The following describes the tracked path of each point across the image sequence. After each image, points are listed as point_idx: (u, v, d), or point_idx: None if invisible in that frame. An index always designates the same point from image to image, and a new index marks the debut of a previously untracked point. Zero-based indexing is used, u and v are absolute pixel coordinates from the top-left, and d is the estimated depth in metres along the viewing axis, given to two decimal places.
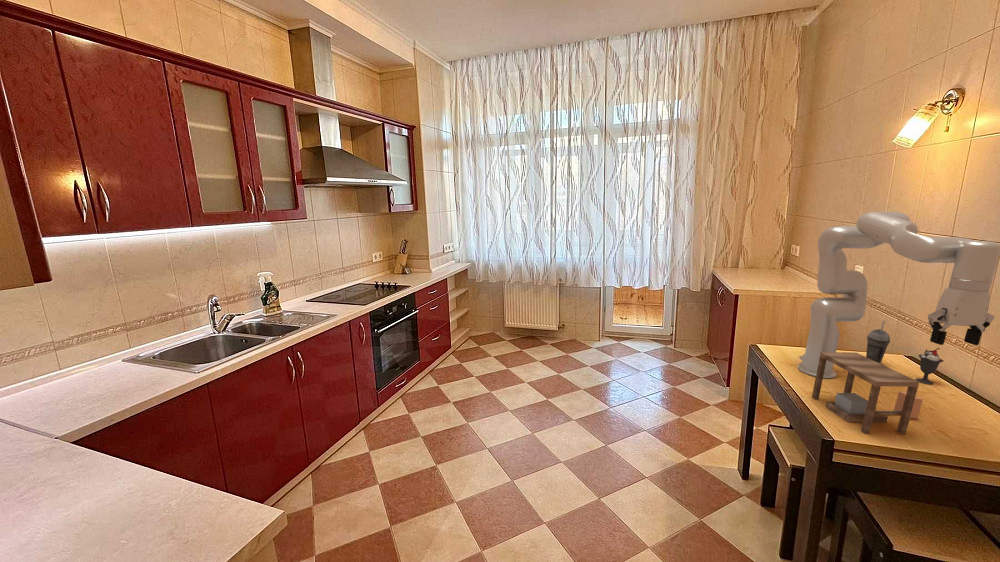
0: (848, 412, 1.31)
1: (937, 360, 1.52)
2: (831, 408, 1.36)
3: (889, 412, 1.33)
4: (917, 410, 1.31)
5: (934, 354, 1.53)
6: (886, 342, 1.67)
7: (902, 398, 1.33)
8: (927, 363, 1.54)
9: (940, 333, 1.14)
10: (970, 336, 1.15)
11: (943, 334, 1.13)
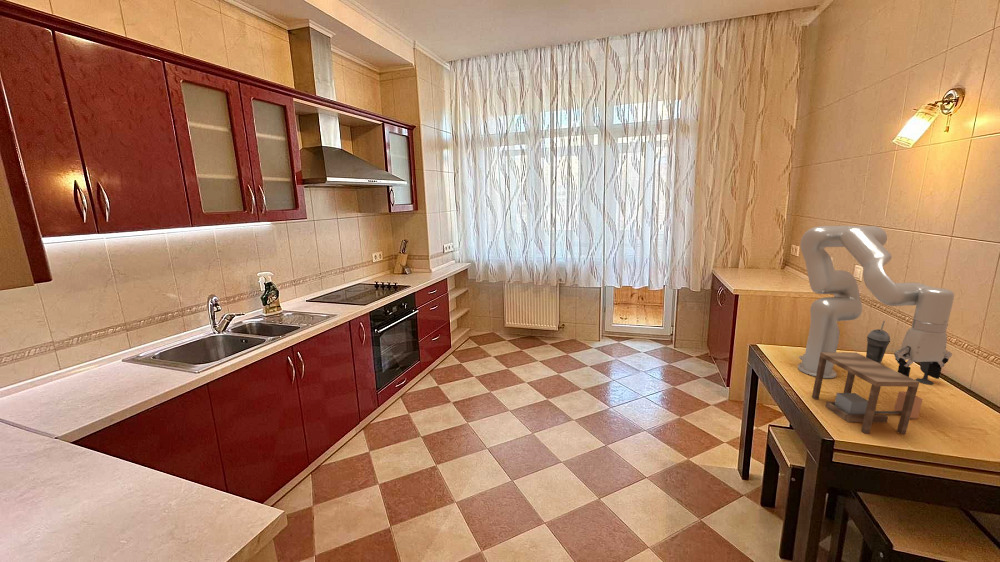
0: (848, 412, 1.31)
1: None
2: (831, 408, 1.36)
3: (889, 412, 1.33)
4: (917, 410, 1.31)
5: None
6: (886, 342, 1.67)
7: (902, 398, 1.33)
8: (927, 363, 1.54)
9: (905, 368, 1.29)
10: (932, 370, 1.30)
11: (908, 369, 1.28)
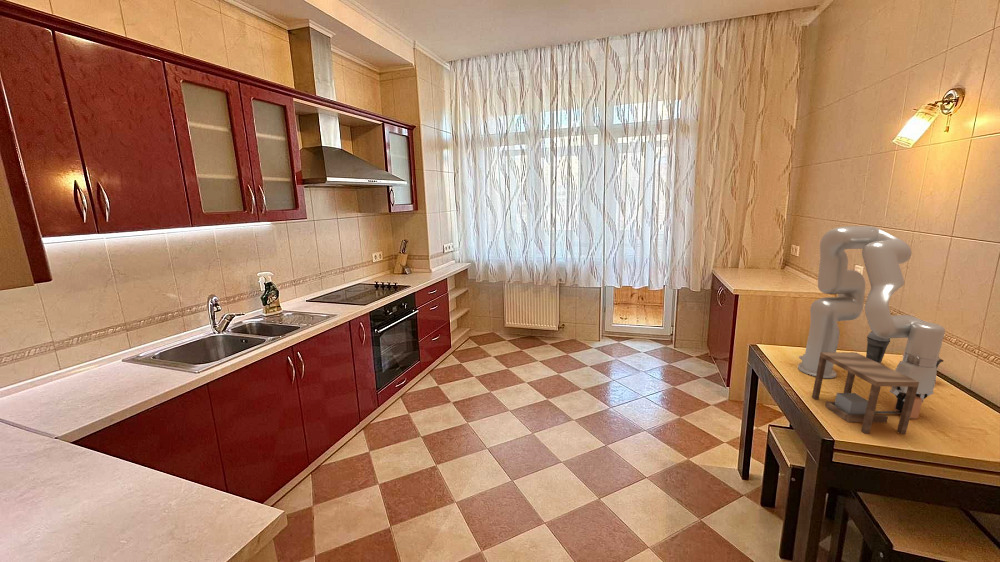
0: (848, 412, 1.31)
1: None
2: (831, 408, 1.36)
3: (889, 412, 1.33)
4: (917, 410, 1.31)
5: None
6: (886, 342, 1.67)
7: None
8: None
9: (903, 403, 1.32)
10: None
11: None
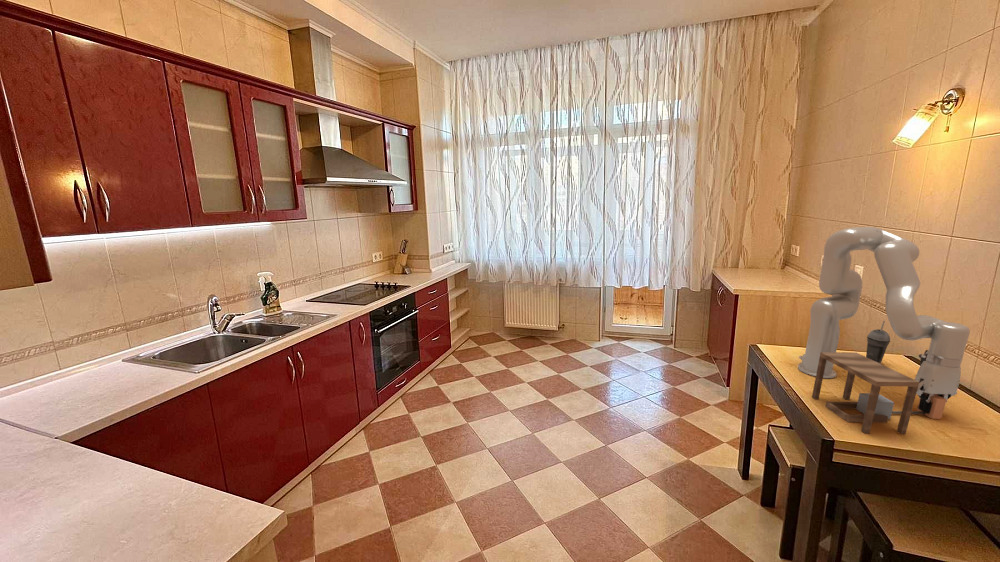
0: None
1: None
2: (831, 408, 1.36)
3: (912, 412, 1.33)
4: (941, 410, 1.31)
5: None
6: (886, 342, 1.67)
7: None
8: None
9: (927, 403, 1.32)
10: None
11: (929, 404, 1.31)
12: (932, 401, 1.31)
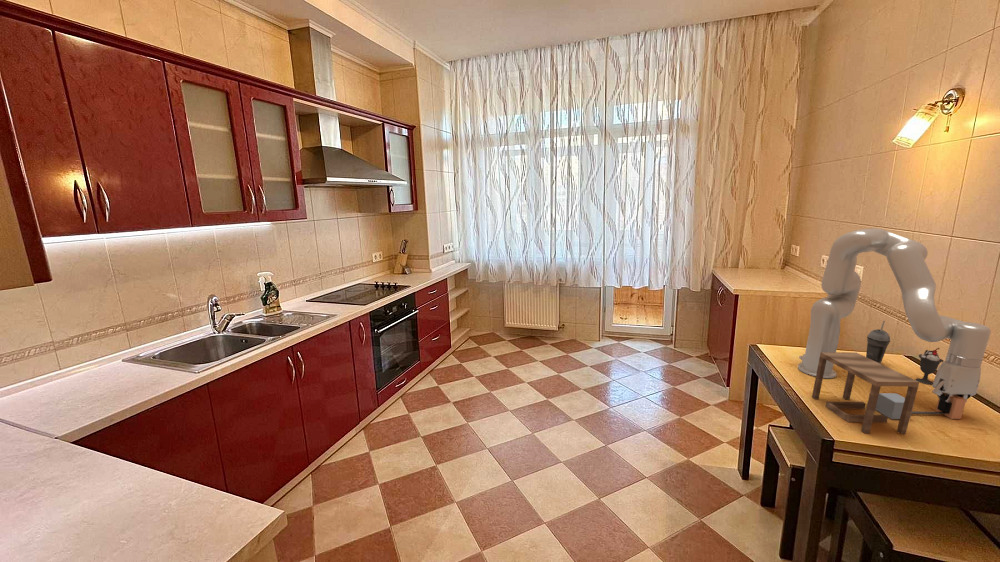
0: (891, 412, 1.31)
1: (937, 360, 1.52)
2: (831, 408, 1.36)
3: (931, 412, 1.33)
4: (960, 410, 1.31)
5: (934, 354, 1.53)
6: (886, 342, 1.67)
7: None
8: (927, 363, 1.54)
9: (946, 404, 1.32)
10: None
11: (949, 404, 1.31)
12: (952, 401, 1.31)
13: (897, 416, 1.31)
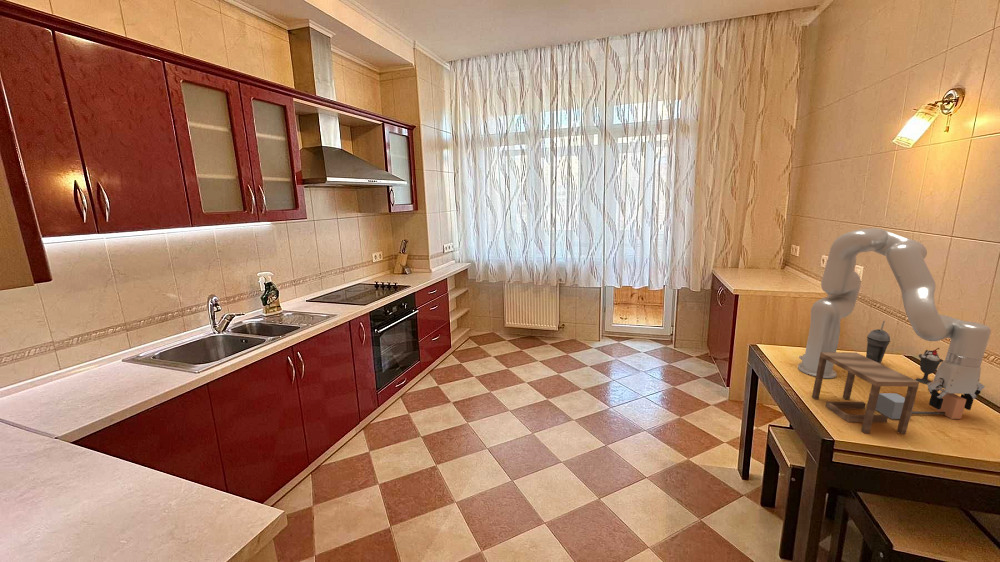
0: (891, 412, 1.31)
1: (937, 360, 1.52)
2: (831, 408, 1.36)
3: (932, 412, 1.33)
4: (961, 410, 1.31)
5: (934, 354, 1.53)
6: (886, 342, 1.67)
7: (945, 399, 1.33)
8: (927, 363, 1.54)
9: (938, 399, 1.32)
10: None
11: (940, 400, 1.31)
12: (952, 401, 1.31)
13: (897, 416, 1.31)
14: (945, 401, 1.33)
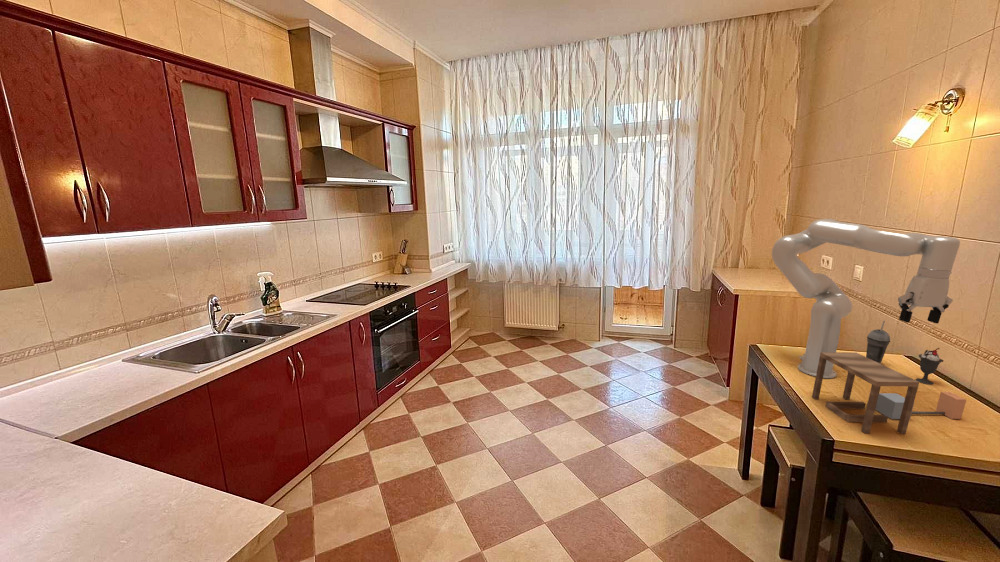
0: (891, 412, 1.31)
1: (937, 360, 1.52)
2: (831, 408, 1.36)
3: (932, 412, 1.33)
4: (961, 410, 1.31)
5: (934, 354, 1.53)
6: (886, 342, 1.67)
7: (945, 399, 1.33)
8: (927, 363, 1.54)
9: (907, 313, 1.37)
10: (932, 316, 1.38)
11: (909, 313, 1.36)
12: (952, 401, 1.31)
13: (897, 416, 1.31)
14: (945, 401, 1.33)
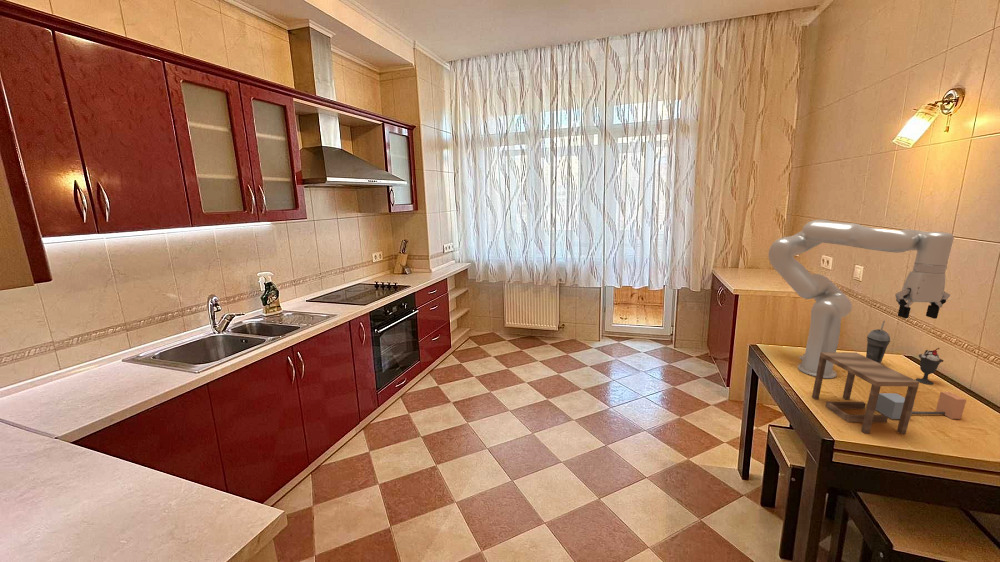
0: (891, 412, 1.31)
1: (937, 360, 1.52)
2: (831, 408, 1.36)
3: (932, 412, 1.33)
4: (961, 410, 1.31)
5: (934, 354, 1.53)
6: (886, 342, 1.67)
7: (945, 399, 1.33)
8: (927, 363, 1.54)
9: (905, 308, 1.37)
10: (930, 311, 1.38)
11: (908, 309, 1.37)
12: (952, 401, 1.31)
13: (897, 416, 1.31)
14: (945, 401, 1.33)
